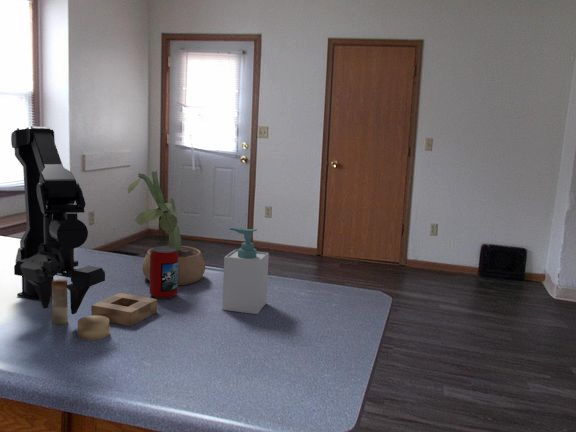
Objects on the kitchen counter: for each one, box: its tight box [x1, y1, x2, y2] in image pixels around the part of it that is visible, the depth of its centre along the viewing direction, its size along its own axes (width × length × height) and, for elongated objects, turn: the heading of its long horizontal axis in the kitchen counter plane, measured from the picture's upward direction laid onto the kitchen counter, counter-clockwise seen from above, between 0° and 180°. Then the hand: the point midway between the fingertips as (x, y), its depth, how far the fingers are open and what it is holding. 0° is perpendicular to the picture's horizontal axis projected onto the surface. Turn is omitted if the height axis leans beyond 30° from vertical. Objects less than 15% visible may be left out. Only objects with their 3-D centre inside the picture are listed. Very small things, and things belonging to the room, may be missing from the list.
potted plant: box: [127, 170, 206, 286], centre depth 150 cm, size 22×18×30 cm
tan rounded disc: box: [77, 315, 110, 341], centre depth 113 cm, size 6×6×3 cm
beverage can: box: [149, 245, 179, 300], centre depth 138 cm, size 7×7×12 cm
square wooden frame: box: [90, 292, 158, 327], centre depth 124 cm, size 10×10×3 cm
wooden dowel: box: [51, 278, 69, 326], centre depth 117 cm, size 3×3×9 cm
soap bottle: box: [221, 226, 270, 315], centre depth 133 cm, size 9×9×19 cm
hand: (59, 311), depth 117 cm, fingers open, 7 cm apart
